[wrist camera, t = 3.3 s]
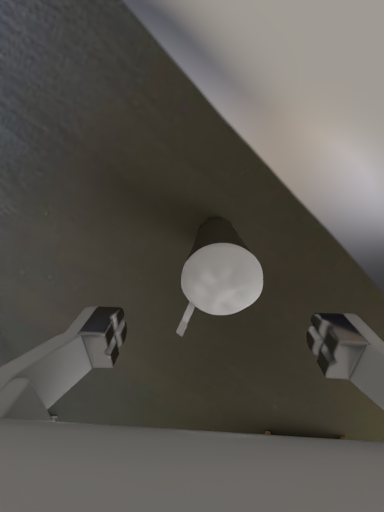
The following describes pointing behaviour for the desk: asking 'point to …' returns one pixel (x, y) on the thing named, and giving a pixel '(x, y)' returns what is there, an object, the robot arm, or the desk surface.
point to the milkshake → (219, 272)
